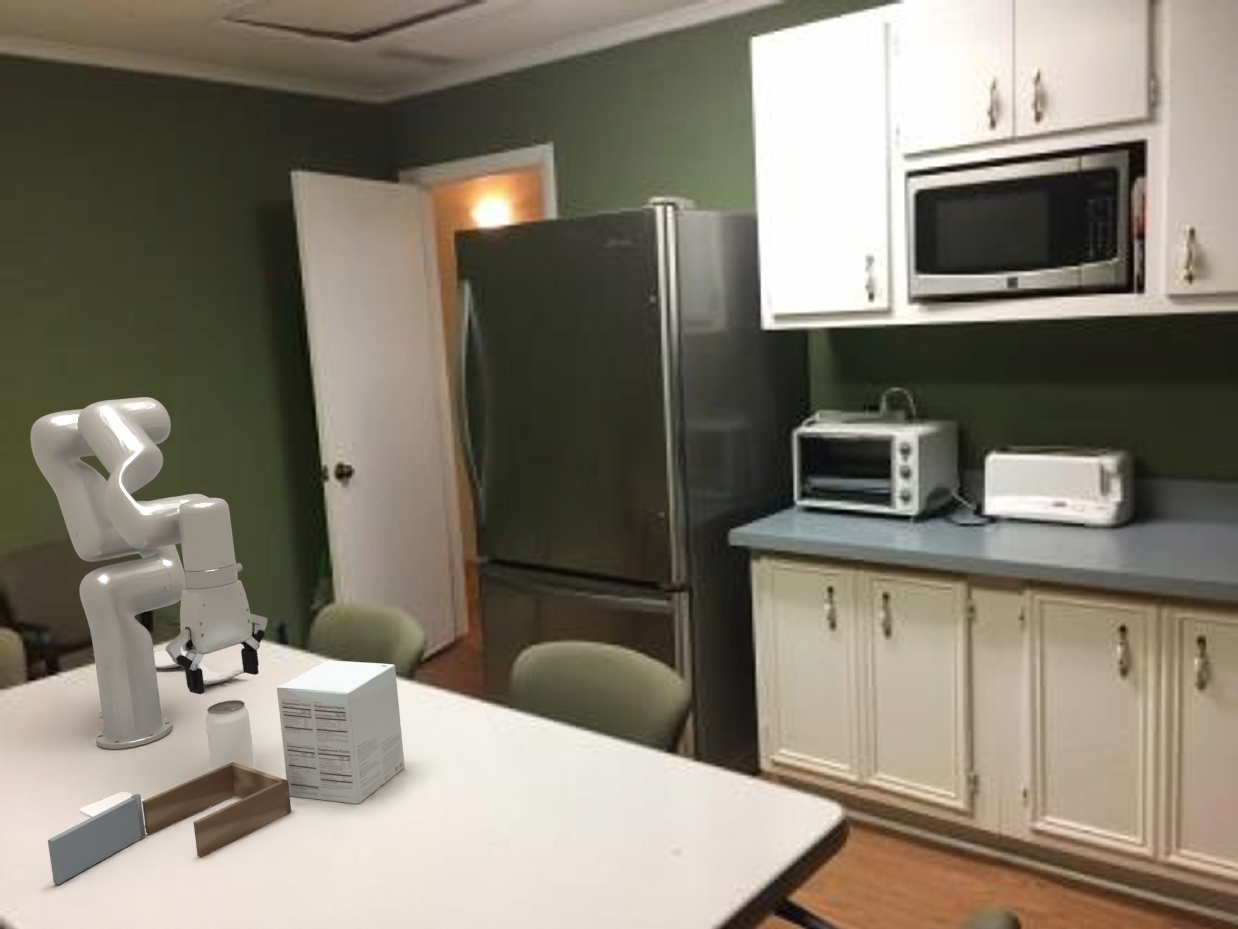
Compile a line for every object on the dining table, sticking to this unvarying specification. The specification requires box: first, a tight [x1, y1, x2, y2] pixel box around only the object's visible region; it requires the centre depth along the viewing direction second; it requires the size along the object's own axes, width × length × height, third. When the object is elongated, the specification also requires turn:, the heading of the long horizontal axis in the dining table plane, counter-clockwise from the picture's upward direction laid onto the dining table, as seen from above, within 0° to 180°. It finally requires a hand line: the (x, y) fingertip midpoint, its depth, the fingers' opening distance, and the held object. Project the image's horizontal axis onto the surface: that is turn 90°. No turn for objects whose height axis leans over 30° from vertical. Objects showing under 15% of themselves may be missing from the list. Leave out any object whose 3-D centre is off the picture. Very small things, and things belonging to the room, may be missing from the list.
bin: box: [142, 762, 292, 858], centre depth 149 cm, size 14×15×5 cm
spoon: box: [154, 649, 245, 686], centre depth 219 cm, size 9×32×4 cm, turn 48°
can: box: [205, 699, 256, 772], centre depth 164 cm, size 6×6×12 cm
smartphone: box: [79, 791, 145, 826], centre depth 155 cm, size 7×1×15 cm
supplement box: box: [276, 659, 406, 805], centre depth 160 cm, size 13×13×18 cm
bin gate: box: [47, 793, 147, 885], centre depth 140 cm, size 14×1×6 cm, turn 155°
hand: (224, 682), depth 162 cm, fingers open, 9 cm apart
